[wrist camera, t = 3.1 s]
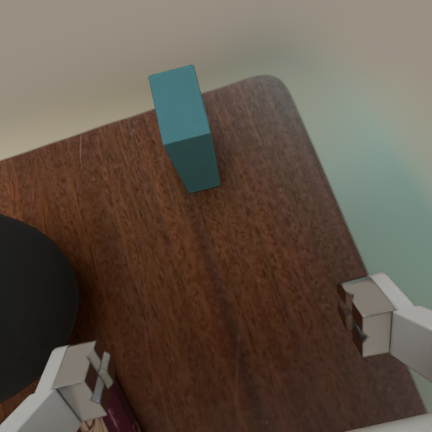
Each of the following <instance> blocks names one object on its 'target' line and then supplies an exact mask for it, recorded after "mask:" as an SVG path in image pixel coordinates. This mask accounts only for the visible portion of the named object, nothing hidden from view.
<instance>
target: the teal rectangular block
mask: <svg viewBox="0 0 432 432" xmlns="http://www.w3.org/2000/svg"><path fill="white" fill-rule="evenodd" d="M149 82H150V87H151V91H152V96H153V101H154V105H155V110H156V115H157V119H158V124H159V129H160V133H161V138H162V143H163V146H164V147H165V149H166V151H167V153H168V155H169V157H170V159H171V161H172V163H173V164H174V166H175V168H176V170H177V172H178V174H179V176H180V178H181V179H182V181H183V183H184V185H185V187H186V189H187V191H188V193H193V192H197V191H201V190H205V189H209V188H213V187H217V186H220V185H221V183H220V178H219V172H218V167H217V162H216V157H215V151H214V146H213V141H212V136H211V131H210V127H209V123H208V119H207V115H206V111H205V107H204V103H203V100H202V96H201V92H200V88H199V85H198V80H197V76H196V72H195V69H194V65H189V66H185V67H181V68H177V69H173V70H169V71H165V72H162V73H158V74H154V75H150V76H149Z"/></svg>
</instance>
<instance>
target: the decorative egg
mask: <svg viewBox="0 0 432 432" xmlns="http://www.w3.org/2000/svg"><path fill="white" fill-rule="evenodd" d="M78 307H79V290H78V284H77V279H76V276H75V273H74V270H73V268H72V266H71V264H70V262H69V260H68V259H67V257H66V256H65V254H64V253H63V252H62V251H61V249H60V248H59V247H58V246H57V245H56V244H55V243H54V242H53V241H52V240H51V239H50V238H48V237H47V236H46V235H45V234H43V233H42V232H40V231H39V230H37V229H36V228H34V227H32V226H30V225H28V224H26V223H24V222H22V221H20V220H17V219H13V218H10V217H7V216H4V215H1V214H0V403H2V402H4V401H6V400H8V399H9V398H11V397H13V396H14V395H16V394H17V393H19V392H20V391H22V390H23V389H25V388H26V387H28V386H29V385H30V384H31V383H33V382H34V381H35V380H36V379H37V378H39V377H40V376H41V375H42V374H43V372H44V369H45V367H46V365H47V362H48V360H49V358H50V355H51V353H52V351H53V350H54V349H55V348H56V347H61V346H65V345H66V343H67V341H68V340H69V338H70V336H71V333H72V331H73V329H74V326H75V322H76V319H77V314H78Z"/></svg>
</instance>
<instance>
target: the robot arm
mask: <svg viewBox="0 0 432 432" xmlns="http://www.w3.org/2000/svg"><path fill="white" fill-rule="evenodd" d="M337 293H338V294H339V296H340V298H339V300H338V301H337V303H338V311H339V314H340V318H341V320H342V322H343V324H344V326H345V328H346V329H347V330H348V331H350V332H352V336H353V342H354V344H355V345H356V347H357V349H358V350H359V352H360V354H361V356H362V357H363V358H364V357H369V356H374V355H379V354H384V353H389V352H390V354H391V355H392V356H394V357H395V358H397V359H398V360H400V361H401V362H403V363H404V364H405V365H407V366H408V367H410V368H411V369H413V370H414V371H416V372H417V373H419V374H420V375H422V376H423V377H425V378H426V379H427V380H429V381H430V382H432V310H430V309H427V308H425V307H423V306H420V305H418V306H414V304H413V303H412V302H411V301H410V300H409V299H408V298H407V297H406V296H405V294H404V293H403V292H402V291H401V290H400V289H399V288H398V287H397V285H396V284H395V283H394V282H393V281H392V280H391V279H390V278H389V277H388V275H387V274H386V273H384V272H380V273H376V274H371V275H368V276H363V277H359V278H355V279H351V280H347V281H343V282H339V283H338V284H337ZM104 349H105V344H104V342H103V341H102V339H94V340H89V341H84V342H79V343H75V344H70V345H66V346H61V347H56V348H55V349H54V350H53V351H52V353H51V355H50V358H49V360H48V362H47V365H46V367H45V369H44V372H43V374H42V376H41V379H40V381H39V384H38V386H37V388H36V391H35V393H34V394H31V395H29V396H28V397H27V398H26V399H25V400H24V401H23V402H22V403H21V404H20V405H19V406H18V407H17V408H16V409H15V410H14V411H13V412H12V413H11V414H10V415H9V417H8V418H7V419H6V420H5V421H4V422H3V423H2V424H1V425H0V432H77V431H78V429H79V427H80V426H81V424H82V423H81V422H85V421H88V420H92V419H96V418H100V417H104V416H107V414H108V409H109V404H110V399H111V394H110V392H109V391H108V389H109V388H110V387H111V386H112V384H113V383H114V379H115V363H114V360H113V358H112V356H111V354H110V353H108V352H106V351H104ZM346 432H432V412H431V413H427V414H422V415H418V416H413V417H409V418H404V419H400V420H395V421H391V422H386V423H382V424H377V425H373V426H368V427H364V428H359V429H355V430H350V431H346Z"/></svg>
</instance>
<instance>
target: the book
mask: <svg viewBox="0 0 432 432" xmlns="http://www.w3.org/2000/svg"><path fill="white" fill-rule="evenodd" d="M108 391H109V392H110V394H111V399H110V404H109V409H108V414H107V416H104V417H100V418H96V419H92V420H88V421H85V422H81V423H82V424H81V426H80V427H79V429H78V431H77V432H142V431H141V429H140V427H139V425H138V423H137V421H136V419H135V417H134V415H133V413H132V411H131V409H130V407H129V405H128V403H127V401H126V399H125V397H124V395H123V393H122V391H121V389H120V387H119V385H118V383H117V381H116V379H114V383H113V384H112V386H111V387H110V388H109V389H108Z"/></svg>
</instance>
